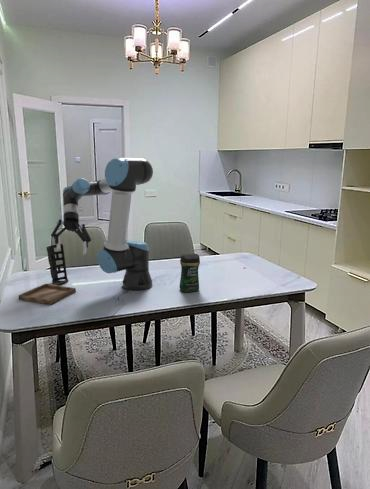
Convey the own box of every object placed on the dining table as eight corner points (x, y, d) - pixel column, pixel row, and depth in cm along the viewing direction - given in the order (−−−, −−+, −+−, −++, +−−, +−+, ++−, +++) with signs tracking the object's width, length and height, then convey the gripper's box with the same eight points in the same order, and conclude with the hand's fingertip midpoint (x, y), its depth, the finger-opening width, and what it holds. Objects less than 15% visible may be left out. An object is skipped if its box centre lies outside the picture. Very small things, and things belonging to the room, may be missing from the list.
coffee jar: (182, 293, 180) (182, 256, 176) (177, 288, 187) (178, 252, 183) (201, 291, 183) (202, 255, 179) (196, 286, 190) (196, 251, 186)
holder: (60, 286, 187) (54, 247, 183) (47, 286, 189) (41, 248, 185) (71, 279, 198) (66, 243, 194) (58, 280, 199) (53, 243, 195)
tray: (75, 292, 180) (75, 288, 180) (50, 305, 164) (50, 301, 163) (46, 287, 186) (45, 283, 186) (18, 299, 170) (18, 295, 170)
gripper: (90, 222, 202) (91, 257, 194) (44, 212, 187) (43, 251, 178) (96, 215, 197) (98, 252, 189) (49, 205, 182) (49, 245, 173)
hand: (72, 251), depth 184 cm, fingers open, 13 cm apart
